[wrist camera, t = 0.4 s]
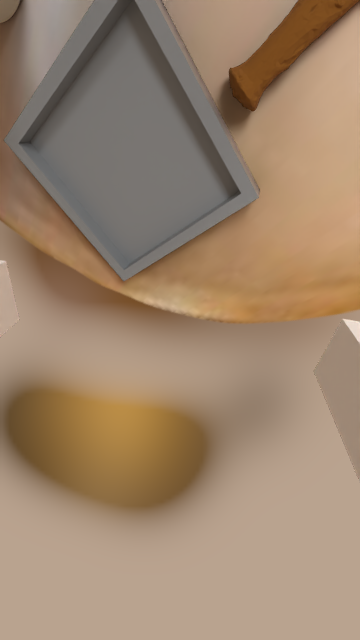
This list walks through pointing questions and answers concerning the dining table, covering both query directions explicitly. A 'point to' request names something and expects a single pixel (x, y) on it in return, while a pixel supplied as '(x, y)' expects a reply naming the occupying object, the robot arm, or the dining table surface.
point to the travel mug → (7, 9)
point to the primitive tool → (284, 47)
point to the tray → (131, 137)
